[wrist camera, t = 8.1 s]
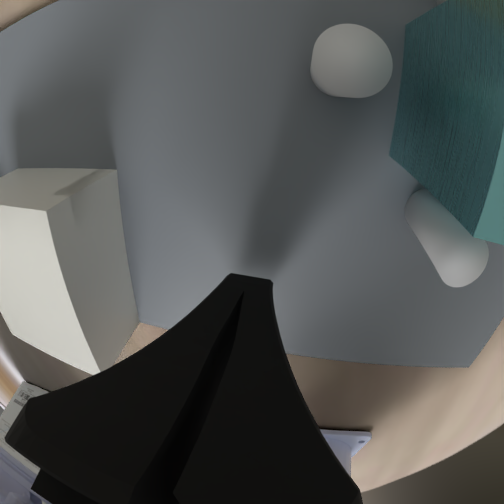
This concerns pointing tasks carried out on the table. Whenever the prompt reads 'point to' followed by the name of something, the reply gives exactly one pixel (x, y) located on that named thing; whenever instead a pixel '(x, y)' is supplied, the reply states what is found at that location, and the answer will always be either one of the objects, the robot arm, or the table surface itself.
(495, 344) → the table surface
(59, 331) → the block
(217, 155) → the base plate
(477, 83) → the teal block
